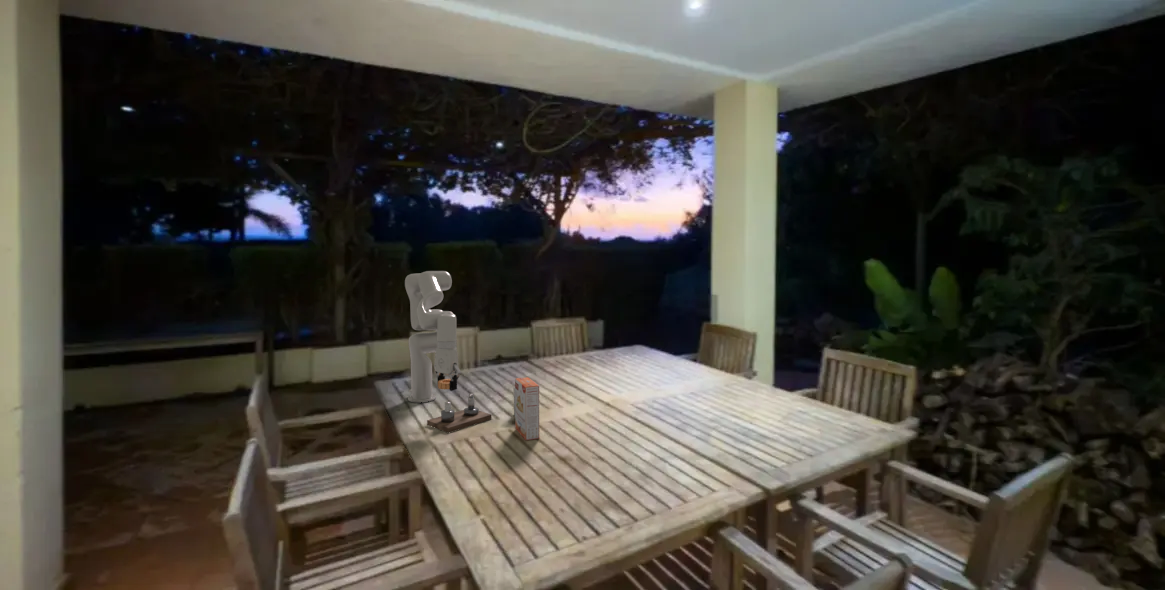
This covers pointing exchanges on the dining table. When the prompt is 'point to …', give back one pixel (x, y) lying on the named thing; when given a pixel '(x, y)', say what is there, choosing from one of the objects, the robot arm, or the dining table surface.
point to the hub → (471, 407)
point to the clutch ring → (444, 384)
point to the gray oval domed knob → (447, 414)
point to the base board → (459, 421)
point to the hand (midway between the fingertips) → (447, 387)
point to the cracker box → (527, 408)
